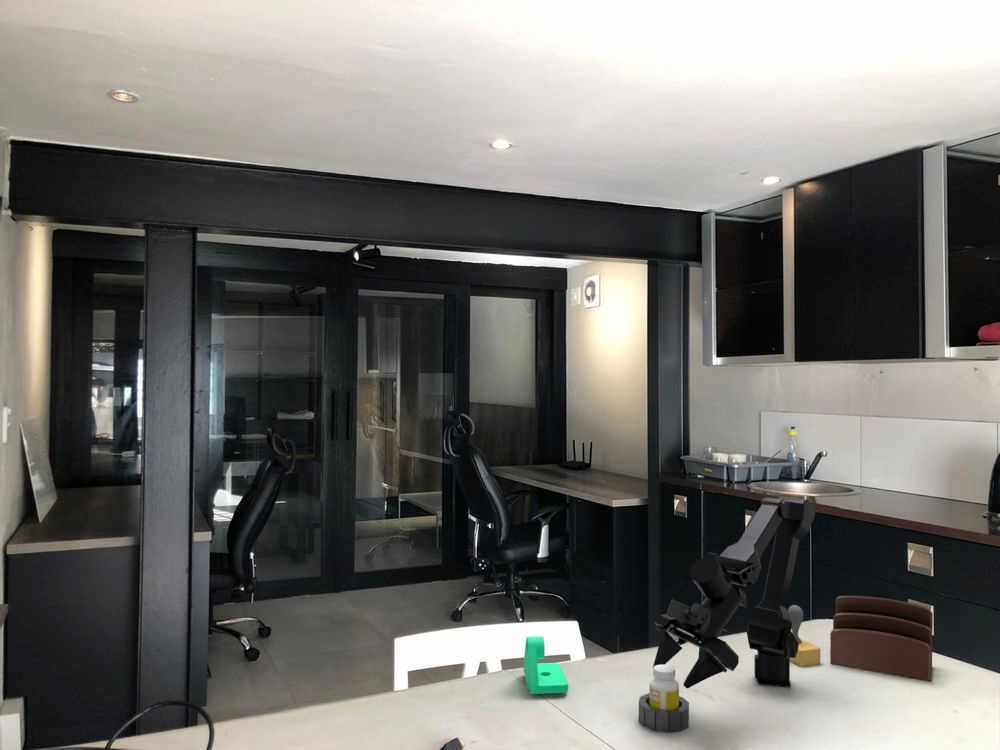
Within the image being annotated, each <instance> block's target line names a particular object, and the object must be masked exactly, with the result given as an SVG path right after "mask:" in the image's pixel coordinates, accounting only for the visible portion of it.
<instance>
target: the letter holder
mask: <svg viewBox="0 0 1000 750" xmlns="http://www.w3.org/2000/svg"><path fill="white" fill-rule="evenodd" d="M829 637H830V641H829V644H830V651H829V653H830V656H829V658H830V659H829V662H830V664H831V665H836V666H842V667H847V668H853V669H858V670H859V669H860V670H865V671H871V672H875V673H881V674H887V675H891V676H898V677H903V678H910V679H915V680H920V681H927V682H931V681H932V672H933V612H932V611H931V609H930V608H928V607H926V606H923V605H918V604H915V603H911V602H907V601H903V600H897V599H896V600H895V599H890V598H886V597H885V598H884V597H883V598H882V597H876V596H875V597H874V596H863V595H839V596H837V597H836V598H835V614H833V617H832V630H831V632H830V633H829Z"/></svg>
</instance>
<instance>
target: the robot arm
mask: <svg viewBox="0 0 1000 750" xmlns="http://www.w3.org/2000/svg"><path fill="white" fill-rule="evenodd" d="M815 516H816V509H815V507H814V505H812V503H811V501H810V500H808V499H805V498H795V497H789V496H788V497H787V496H779V497H778V498H773V497H765V498H762V499H761V501H760V503H759V508H758V510H757V512H756V514H754V516H753V519H751V521H750V523H749V525H748V526H747V527H746V529H745V531H744V532H743V534H742V536H741V537H740V539H739V540H738V541H737V542H735V543H734V544H733V543H732V544H731V545H728V546H727V547H726V548H725V549H724V550H723V552H722V553H721V554H720V555H718V554H717V553H714V552H706V555H705V556H703V557H701V558H699V559H697V560H696V561H695V562H693V563H692V564H691V566H690V568H689V576H690V578H691V579H692V581H693V582H694V584H695V585H696V587H697V588H698V589H699V591H700V592H701V593H702V595H703V596H704V597H705V599H704V600H703V602H701V603H699V602H695V603H693V604H692V606H689V605H686V604H684V603H682V602H680V601H677V600H675V599H673V598H672V599H671V600H670V602H669V606H668V609H667V612H666V613H664V614H660V615H658V616H657V618H656V620H655V621H654V625H656V630H657V631H658V634H659V641H658V642H659V644H658V646H657V650H656V651H657V652H656V655H655V658H654V661H653V665H652V668H653V667H654V666H656V665H667V663H668V662H670V660H672V659H673V658H674V657H675V656H676V655H677V654H679V652H681V651H682V649H683V647H681V646H682V645H684V644H686V643H689V644H691V645H692V646H695V647H697V648H698V657H697V660H696V662H695V663H694V665H693V666H692V668H691V670H690V671H689V673H688V674H687V676H686V678H685V679H684V682H683V686H684V688H686V689H690V688H692V687H693V686H696V685H698V684H699V683H701V682H702V681H705V680H707V679H709V678H711V677H713V676H717V675H718V674H721V673H727V672H728V670H729V671H731V672H734V671H735V669H736V668H737V667H738V665H739V662H740V661H739V659H740V658H739V657H740V656H739V655H738V654H737V653H736V652H735V651H734V650H733V648H732V647H731V646H730V645H729V644H728V643H727V642H726V641H725V640H722V639H721V638H719V636H720V635H721V634H722V632H723V631H724V632H727V633H728V632H729V630H730V629H731V627H730V626H729V625H728V623H729V622H730V620H731V619H732V618H733V616H734V615H735V613H736V611H737V610H738V608H739V607H740V606H741V607H743V608H747V607H748V601H747V592H745V591H743V590H741V589H739V587H738V586H743V587H752V586H753V585H754V584H755V583H756V582H757V581H758V578H759V576H760V572H761V570H762V563H761V557H762V556H763V553H764V552H765V549H766V548H767V546H768V545H769V543H770V541H771V540H772V538H773V537H775V538H774V542H773V546H772V547H773V548H772V552H771V553H772V554H771V557H770V562H769V566H768V572H767V577H766V583H765V587H764V593H763V597H762V601H760V603H759V604H758V605H753V606H751V608H750V611H749V617H748V621H747V623H746V629H745V630H746V636H747V642H748V646H749V649H750V650H756V651H757V652H756V653H757V654H754V656H753V657H754V658H753V659H754V661H753V663H754V665H753V669H754V670H753V672H754V678H755V679H756V681H757V684H758V685H763V686H771V687H781V688H791V687H792V683H791V680H790V677H791V676H790V672H791V671H790V670H791V669H790V668H791V666H790V665H791V664H790V662H791V661H790V658H795V657H796V654H797V652H798V646H799V643H798V642H797V640H796V638H795V637H794V635H793V633H792V629H791V626H792V622H791V619H790V616H789V614H788V608H787V607H788V601H789V595H790V591H791V587H792V580H793V576H794V569H795V565H796V562H797V561H796V560H797V555H798V550H799V544H800V541H801V540H803V538H804V537H805V536H806V535H807V534H808V533H810V530H811V526H812V523H813V521H814V519H815ZM774 535H775V536H774ZM737 585H738V586H737Z"/></svg>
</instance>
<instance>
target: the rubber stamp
mask: <svg viewBox="0 0 1000 750" xmlns="http://www.w3.org/2000/svg"><path fill="white" fill-rule="evenodd" d="M787 611H788V614H789V616H790V619H791V622H792V626H791V632H792V633H793V635H794V637H795V638H796V640H797V642H798V643H799V646H798V652H797V654H796V657H795V658H790V662H791V663H793V664H795V665H796V666H799V667H801V668H802V667H810V666H814V665H820V664H821V647H820V646H818V645H815V644H814V643H812V642H809V641H808V640H807V641H806V640H804V639H802V638H800V637H799V630H800V628H801V625H802V623H803V620H804V611H803V609H802V608H801V607H800V606H799V605H796V604H793V605H790V606H789V607H788V608H787Z"/></svg>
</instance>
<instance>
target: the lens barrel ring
mask: <svg viewBox="0 0 1000 750" xmlns="http://www.w3.org/2000/svg"><path fill="white" fill-rule="evenodd" d="M649 700H650V692H648V693H645V694H643V695H641V696H640V697H639V700H638V723H639V724H641V725H642V726H643V727H644V728H646V729H649V730H651V731H653V732H659V733H660V732H661V733H668V734H669V733H671V734H673V733H678V732H679V733H680V732H682V731H685V730H686V729H688V728H689V726H690V725H689V723H690V717H689V716H690V713H689V712H690V702H689V701H688V700H687V699H685V698H684V697H682V696H680V695H679V708H678V709H674V710H661V709H656V708H653V707H651V706H650V701H649Z"/></svg>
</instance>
